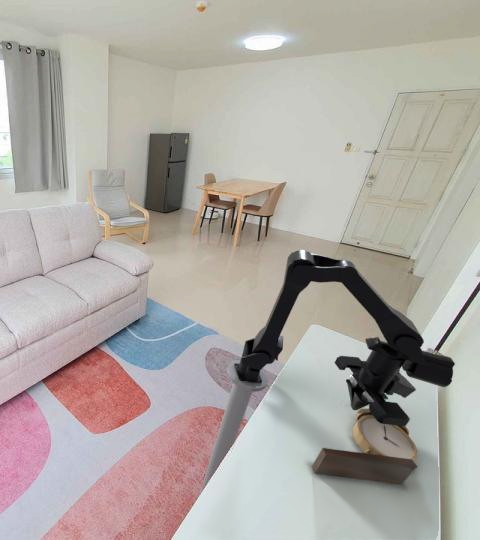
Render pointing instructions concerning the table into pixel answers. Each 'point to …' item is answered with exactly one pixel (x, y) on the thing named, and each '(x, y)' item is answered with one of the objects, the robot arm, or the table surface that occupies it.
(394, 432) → the alarm clock
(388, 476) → the shelf back
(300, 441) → the table surface
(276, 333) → the robot arm
